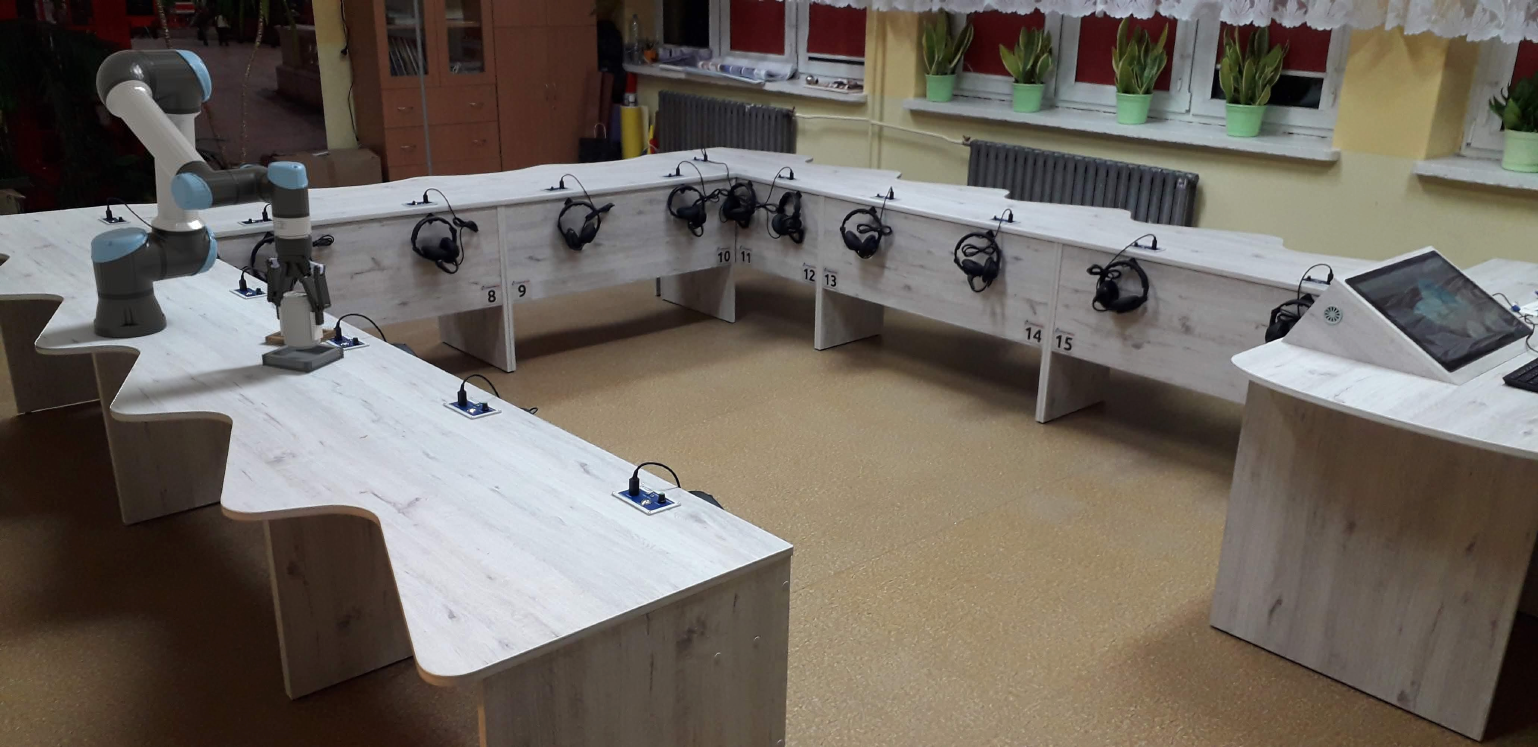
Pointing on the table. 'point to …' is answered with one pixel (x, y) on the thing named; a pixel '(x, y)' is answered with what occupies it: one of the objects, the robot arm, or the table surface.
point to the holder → (279, 340)
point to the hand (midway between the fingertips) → (302, 336)
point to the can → (297, 320)
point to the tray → (303, 357)
